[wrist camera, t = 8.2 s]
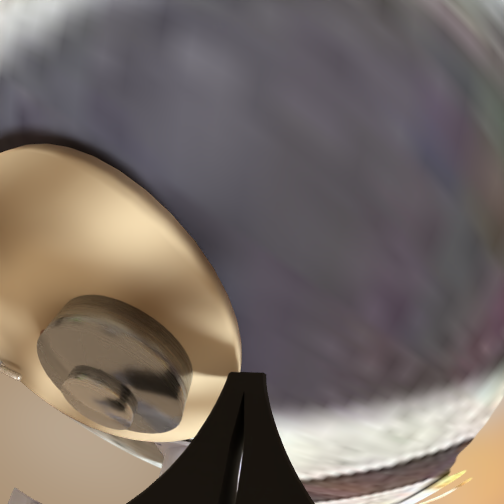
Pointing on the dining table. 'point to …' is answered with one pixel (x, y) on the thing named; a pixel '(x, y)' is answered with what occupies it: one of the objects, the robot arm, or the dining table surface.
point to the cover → (116, 365)
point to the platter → (104, 272)
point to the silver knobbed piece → (10, 372)
